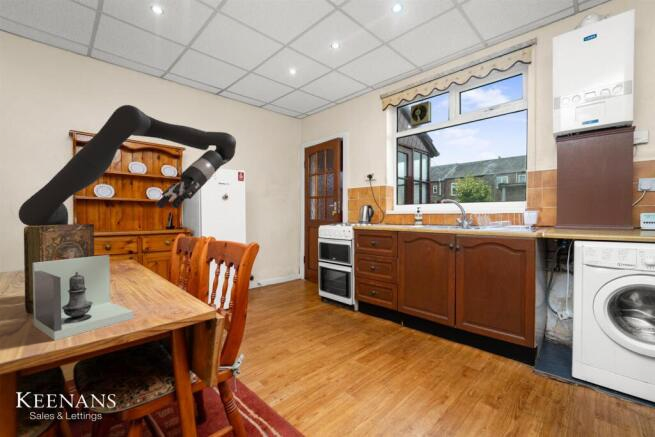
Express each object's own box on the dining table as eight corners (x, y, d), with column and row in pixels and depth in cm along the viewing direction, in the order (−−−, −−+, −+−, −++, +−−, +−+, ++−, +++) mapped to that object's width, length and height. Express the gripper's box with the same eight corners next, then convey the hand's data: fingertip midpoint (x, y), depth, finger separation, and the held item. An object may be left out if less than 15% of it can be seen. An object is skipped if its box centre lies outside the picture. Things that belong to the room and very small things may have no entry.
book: (85, 297, 97) (83, 223, 96) (98, 298, 96) (97, 223, 95) (25, 315, 81) (23, 226, 80) (40, 316, 80) (38, 226, 79)
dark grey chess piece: (83, 322, 70) (82, 273, 69) (55, 324, 69) (54, 274, 68) (98, 314, 76) (97, 268, 75) (72, 315, 74) (71, 269, 74)
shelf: (34, 325, 73) (32, 262, 73) (108, 307, 87) (107, 254, 86) (54, 340, 65) (53, 269, 64) (133, 318, 78) (132, 259, 78)
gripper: (179, 167, 102) (145, 198, 92) (203, 163, 94) (169, 197, 85) (193, 183, 106) (162, 214, 97) (217, 181, 99) (186, 214, 89)
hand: (165, 206), depth 91 cm, fingers open, 8 cm apart
